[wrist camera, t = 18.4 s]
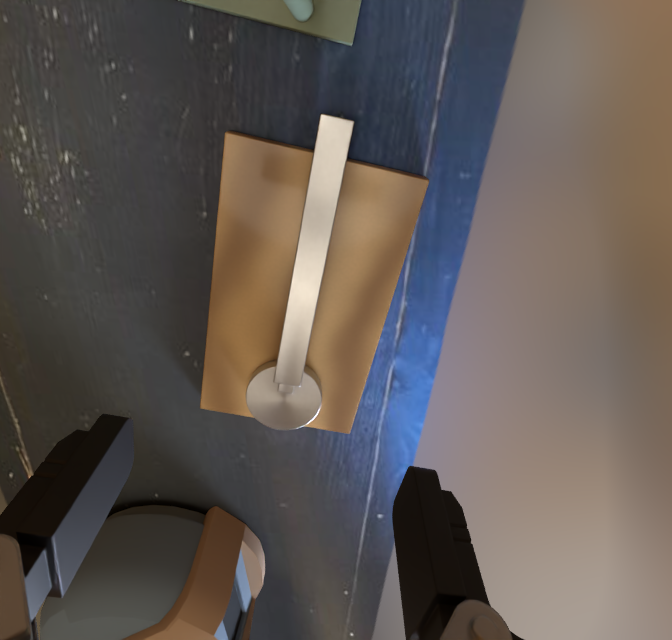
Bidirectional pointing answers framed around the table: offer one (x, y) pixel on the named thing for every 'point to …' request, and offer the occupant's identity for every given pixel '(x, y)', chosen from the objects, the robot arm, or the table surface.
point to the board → (277, 266)
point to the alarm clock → (162, 579)
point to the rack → (296, 15)
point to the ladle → (304, 291)
